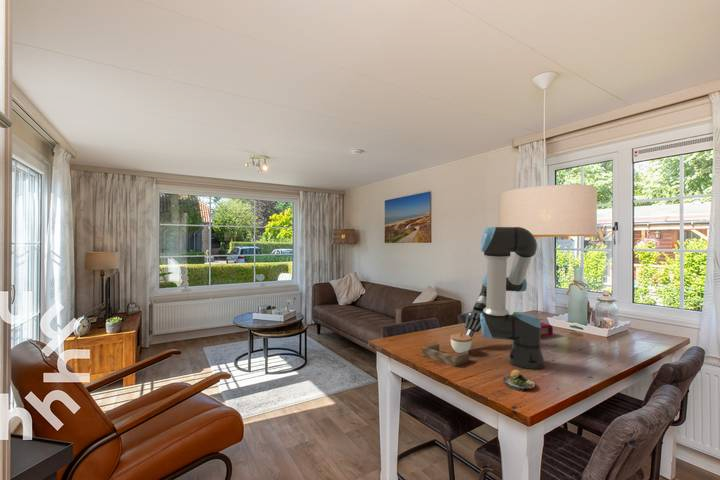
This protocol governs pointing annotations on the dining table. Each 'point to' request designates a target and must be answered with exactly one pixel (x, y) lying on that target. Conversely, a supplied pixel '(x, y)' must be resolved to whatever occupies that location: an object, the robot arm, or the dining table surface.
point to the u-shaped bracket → (444, 355)
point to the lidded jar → (461, 342)
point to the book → (546, 330)
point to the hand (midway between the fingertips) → (466, 341)
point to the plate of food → (517, 381)
